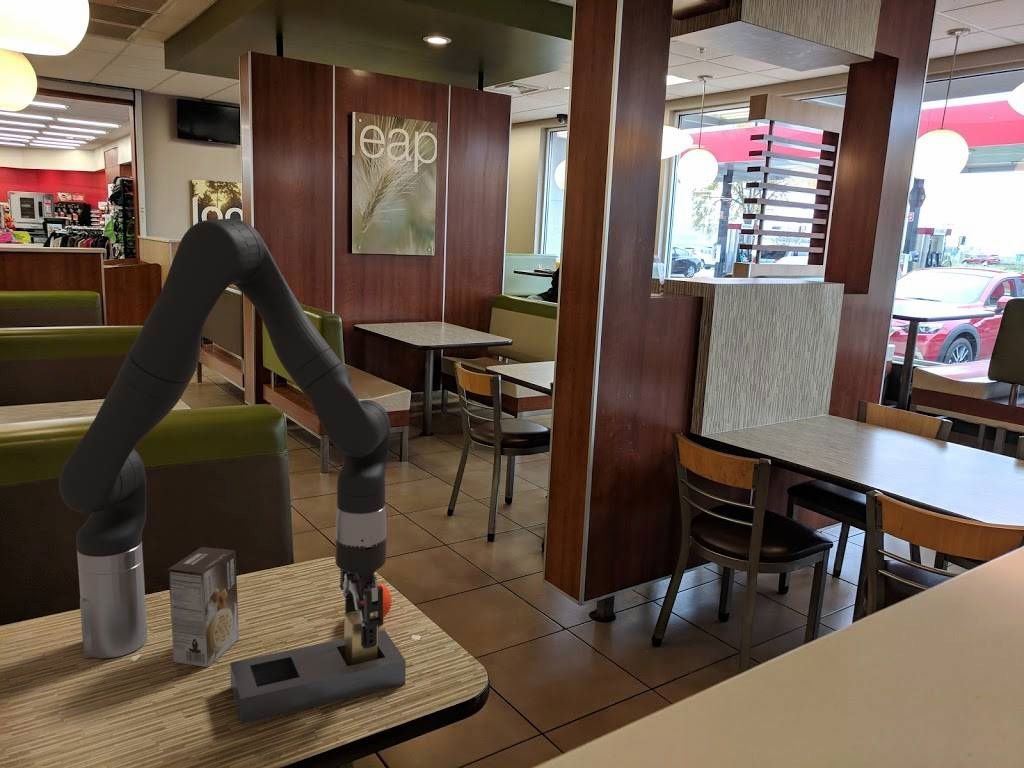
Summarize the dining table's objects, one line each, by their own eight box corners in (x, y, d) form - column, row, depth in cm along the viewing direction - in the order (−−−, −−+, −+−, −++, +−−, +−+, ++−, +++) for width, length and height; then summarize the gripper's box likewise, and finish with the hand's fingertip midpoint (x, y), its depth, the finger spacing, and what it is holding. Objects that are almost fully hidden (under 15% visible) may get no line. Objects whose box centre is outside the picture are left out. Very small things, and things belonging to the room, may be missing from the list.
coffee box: (205, 634, 130) (202, 545, 127) (240, 639, 129) (237, 549, 126) (171, 663, 122) (167, 567, 118) (208, 668, 120) (204, 573, 117)
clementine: (368, 636, 132) (369, 597, 131) (339, 624, 136) (339, 586, 134) (399, 617, 139) (400, 581, 137) (370, 606, 142) (370, 570, 141)
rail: (241, 724, 107) (240, 698, 106) (231, 686, 116) (230, 662, 115) (405, 684, 118) (405, 660, 118) (384, 652, 127) (384, 629, 126)
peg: (352, 685, 118) (352, 625, 116) (344, 672, 121) (344, 613, 119) (377, 679, 119) (377, 619, 118) (369, 666, 123) (369, 608, 121)
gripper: (324, 521, 120) (324, 617, 123) (349, 556, 108) (349, 661, 111) (370, 514, 124) (369, 608, 127) (401, 548, 111) (399, 650, 114)
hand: (360, 633), depth 119 cm, fingers open, 8 cm apart
